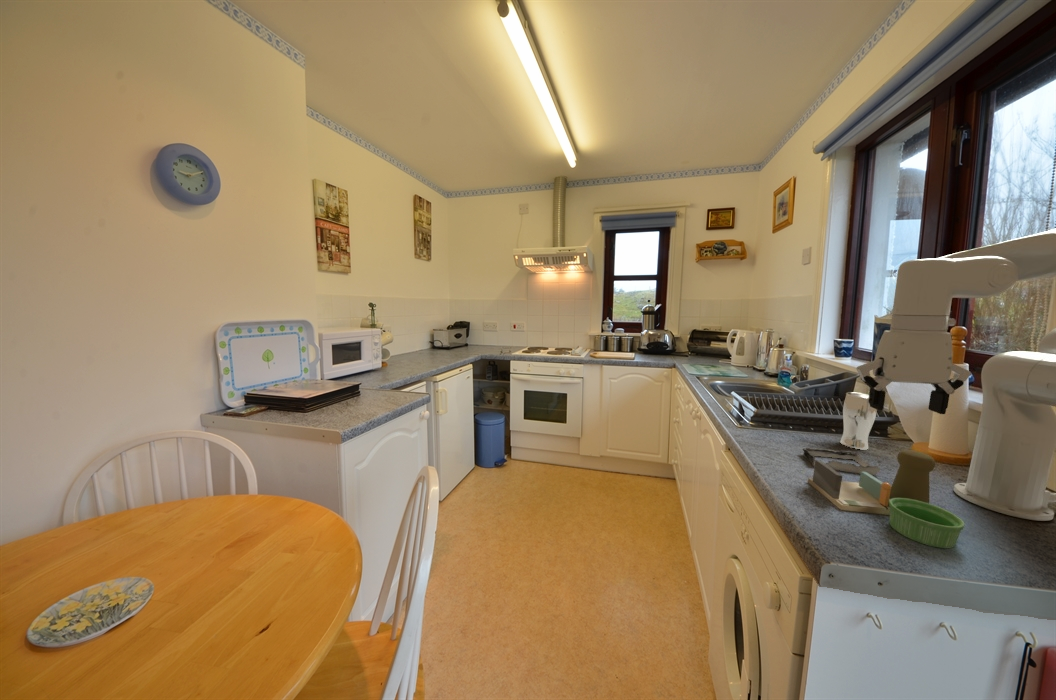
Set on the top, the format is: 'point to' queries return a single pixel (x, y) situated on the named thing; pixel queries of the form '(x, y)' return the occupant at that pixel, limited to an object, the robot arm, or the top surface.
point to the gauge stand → (844, 491)
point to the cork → (912, 476)
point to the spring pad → (870, 484)
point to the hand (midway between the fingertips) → (905, 410)
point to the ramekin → (925, 522)
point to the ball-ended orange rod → (885, 494)
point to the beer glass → (857, 420)
